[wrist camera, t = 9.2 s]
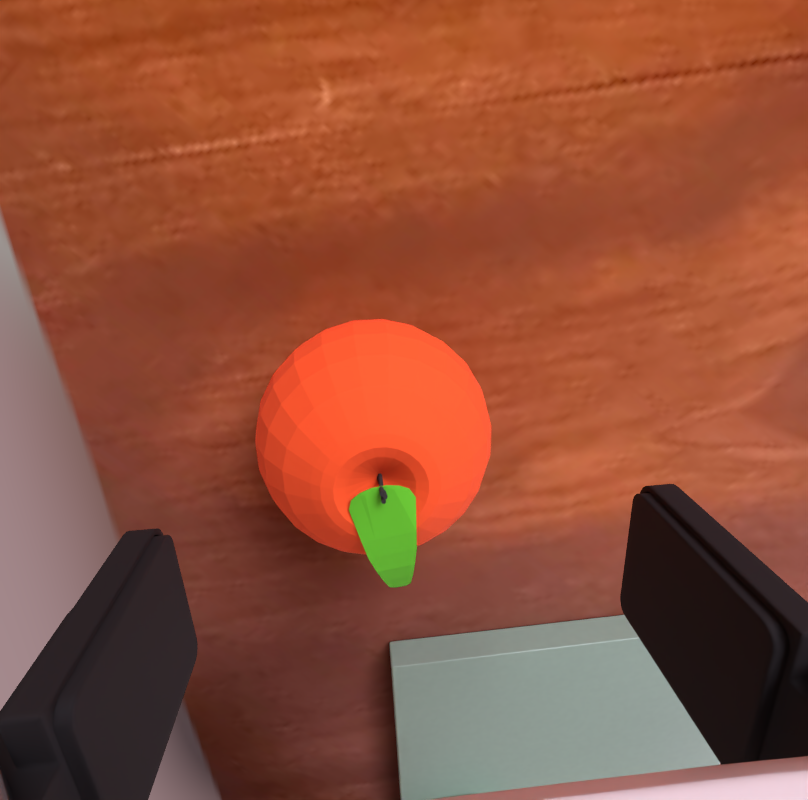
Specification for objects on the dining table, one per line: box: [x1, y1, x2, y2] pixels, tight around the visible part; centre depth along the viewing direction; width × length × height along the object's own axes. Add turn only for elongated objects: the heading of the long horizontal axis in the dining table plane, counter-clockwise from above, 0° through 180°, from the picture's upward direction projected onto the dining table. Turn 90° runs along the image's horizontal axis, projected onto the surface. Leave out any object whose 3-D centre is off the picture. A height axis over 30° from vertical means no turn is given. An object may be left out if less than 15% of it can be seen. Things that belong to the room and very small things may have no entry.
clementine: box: [255, 319, 491, 587], centre depth 16 cm, size 8×7×7 cm
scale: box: [389, 615, 720, 800], centre depth 25 cm, size 17×15×3 cm
